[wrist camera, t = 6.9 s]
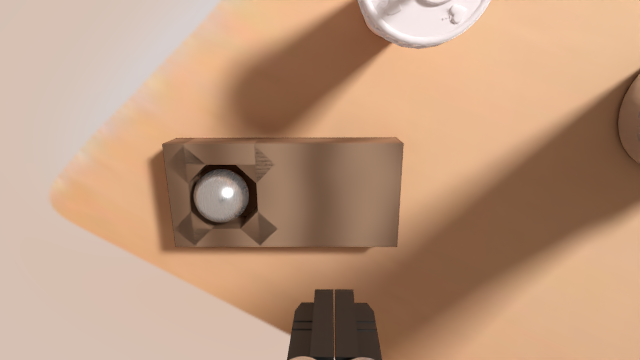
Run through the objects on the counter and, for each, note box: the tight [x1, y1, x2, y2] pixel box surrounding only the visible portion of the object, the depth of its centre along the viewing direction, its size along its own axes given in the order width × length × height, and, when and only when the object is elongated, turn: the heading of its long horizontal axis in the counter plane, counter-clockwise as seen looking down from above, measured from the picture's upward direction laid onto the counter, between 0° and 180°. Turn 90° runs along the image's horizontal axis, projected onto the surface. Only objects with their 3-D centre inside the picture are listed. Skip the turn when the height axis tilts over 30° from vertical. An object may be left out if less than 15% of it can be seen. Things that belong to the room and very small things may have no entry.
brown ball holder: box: [162, 137, 404, 247], centre depth 27 cm, size 17×8×2 cm, turn 90°
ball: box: [194, 169, 249, 223], centre depth 27 cm, size 4×4×4 cm
